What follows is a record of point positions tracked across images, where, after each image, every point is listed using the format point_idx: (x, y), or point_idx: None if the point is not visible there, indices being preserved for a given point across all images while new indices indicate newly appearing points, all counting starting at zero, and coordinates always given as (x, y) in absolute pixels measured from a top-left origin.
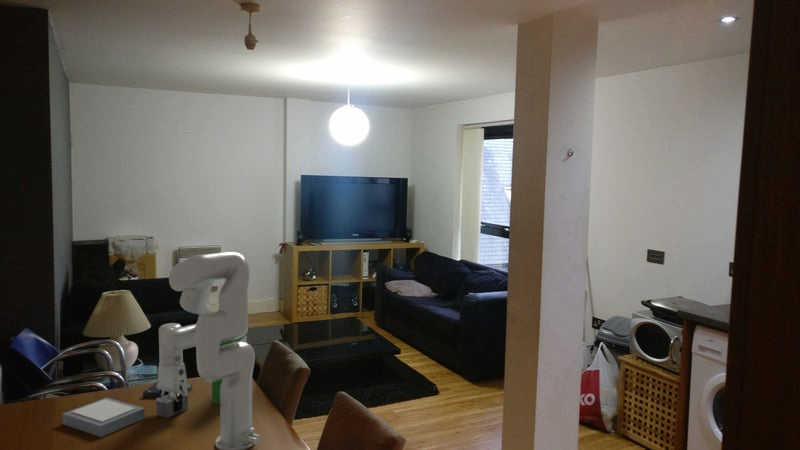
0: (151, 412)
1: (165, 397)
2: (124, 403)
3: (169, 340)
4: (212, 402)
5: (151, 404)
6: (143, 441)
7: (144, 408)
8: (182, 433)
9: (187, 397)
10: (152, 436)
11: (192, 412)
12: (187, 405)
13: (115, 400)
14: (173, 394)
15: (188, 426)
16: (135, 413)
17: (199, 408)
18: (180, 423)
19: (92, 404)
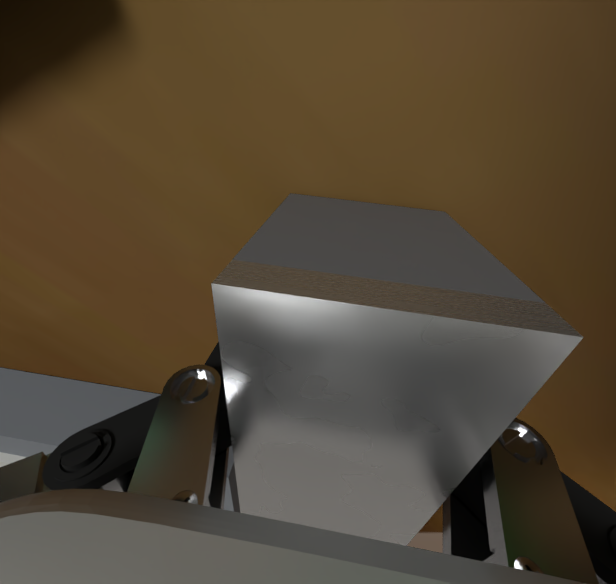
0: (204, 347)
1: (306, 506)
2: (45, 448)
3: None
4: None
5: (53, 244)
6: (431, 525)
7: (229, 476)
8: (595, 484)
9: (513, 275)
10: (441, 505)
11: (538, 253)
12: (456, 226)
13: None
14: (326, 443)
15: (604, 433)
16: (237, 497)
17: (592, 124)
18: (520, 415)
19: None
